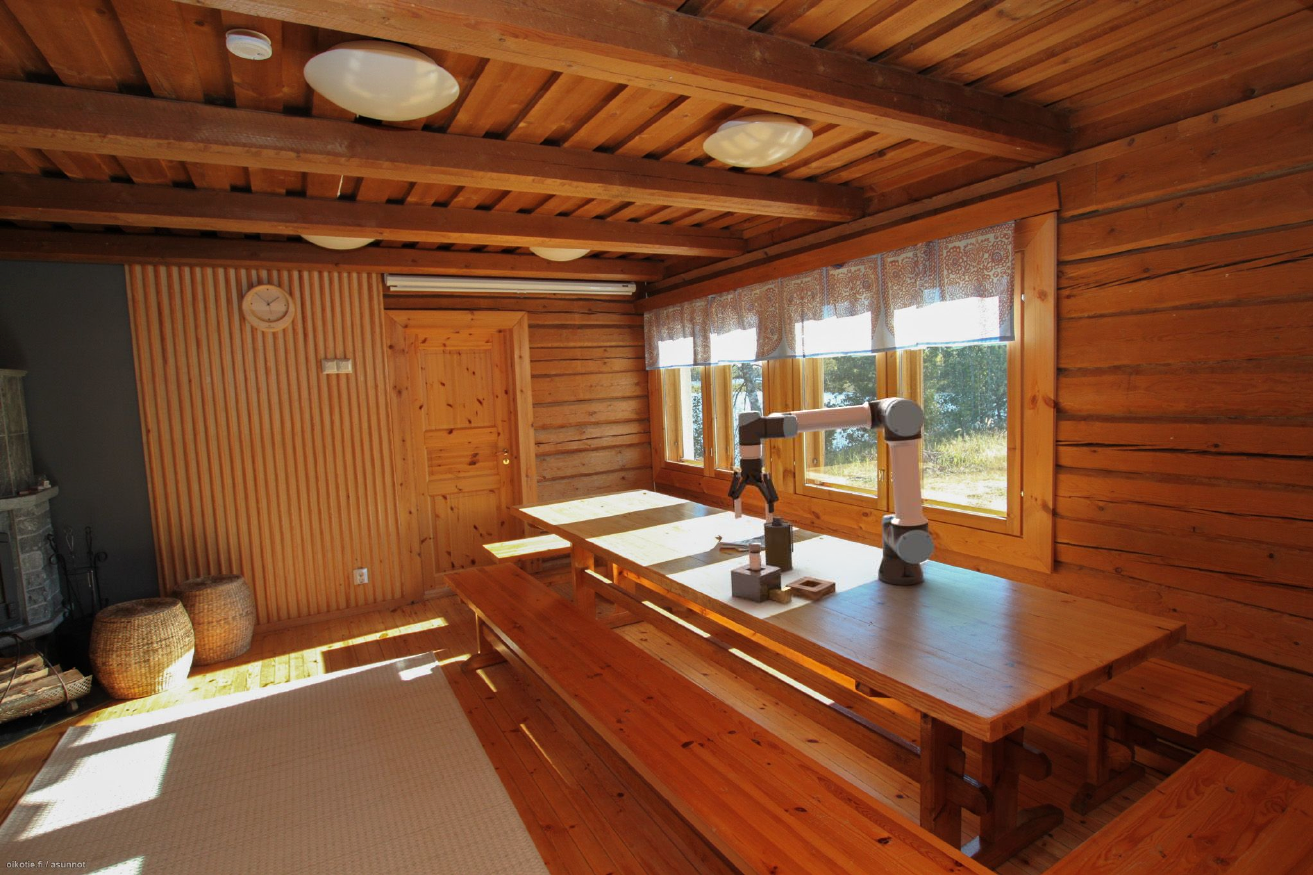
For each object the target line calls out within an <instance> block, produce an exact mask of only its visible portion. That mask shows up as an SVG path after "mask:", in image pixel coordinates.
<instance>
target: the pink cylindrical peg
mask: <svg viewBox="0 0 1313 875" xmlns="http://www.w3.org/2000/svg"><path fill="white" fill-rule="evenodd" d="M761 544H762V543H761V542H759V541H751V542H749V543H748V557H749V558H748V560H749V563H748V564H750V571H753V572H760V571H762V566H761V564H762V550H761V549H762V547H761V546H762V545H761Z"/></svg>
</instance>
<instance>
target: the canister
mask: <svg viewBox="0 0 1313 875" xmlns="http://www.w3.org/2000/svg"><path fill="white" fill-rule="evenodd" d="M763 530H764V531H763V532H764V534H763V535H764V556H765V565H768V566H773V567H778V568H781V573H785V572H790V571H791V570H793V556H792V554H793V553H794V532H793V531H794V530H793V523H791V522H789V521H785V520H783V517H782V516H775V515H773V522H771V523H766V522H763Z"/></svg>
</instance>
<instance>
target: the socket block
mask: <svg viewBox="0 0 1313 875" xmlns="http://www.w3.org/2000/svg"><path fill="white" fill-rule="evenodd" d="M761 566H762V571H760V572H753V571H750V563H748V564H744V565H742V566H739V567H737V568H734V569H732V570H730V581H731V582H730V584H731V586H730V587H731V597H733V598H738V599H742V600H744V601H745V600H746V601H749V602H753V603H758V604H761V603H762V604H763V603H764V602H767V601H768V600H769V599H768V589H770V588H773V589H777V590H781V589H782V572H781V568H778V567H773V566H768V565H766V564H762V563H761Z"/></svg>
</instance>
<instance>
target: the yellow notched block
mask: <svg viewBox="0 0 1313 875" xmlns="http://www.w3.org/2000/svg"><path fill="white" fill-rule="evenodd" d="M768 600H773V601H777V602H780V604H782V605H785V604H788V603H790V602H792V595H791V588H790V587H786V586H785V587H783V588H781V590H777V589H773V588H770V589H768Z"/></svg>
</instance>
